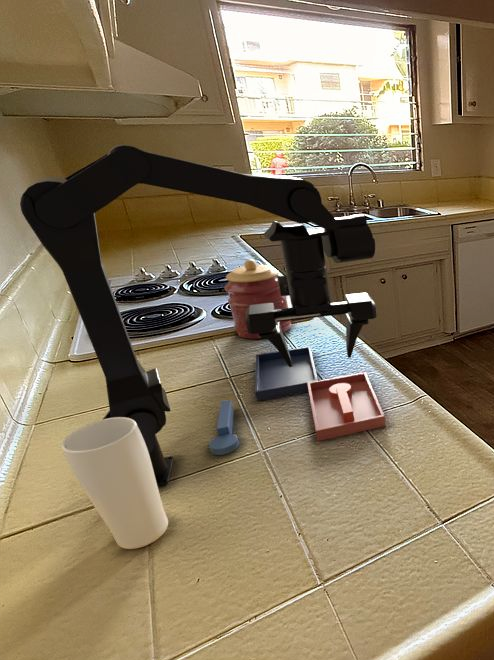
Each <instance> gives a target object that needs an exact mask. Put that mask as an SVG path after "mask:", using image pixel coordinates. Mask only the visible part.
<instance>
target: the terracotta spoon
mask: <svg viewBox="0 0 494 660" xmlns="http://www.w3.org/2000/svg"><path fill="white" fill-rule="evenodd" d="M351 393H352V390H351V386H350V385H349V384H347V383H338V384H335V385H332V386H331V387H330V388H329V395H330V397H331V398H333V399H338V402H339V406H340V409H341V413H342V416H343V420H344V423H348V422H352V421H354V414H353V410H352V406H351V403H350V400H349V397H348V396H350V395H351Z"/></svg>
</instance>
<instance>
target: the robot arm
mask: <svg viewBox="0 0 494 660" xmlns="http://www.w3.org/2000/svg"><path fill="white" fill-rule="evenodd" d="M139 184H141V185H148V186H152V187H157V188H158V187H159V188H163V189H168V190H173V191H179V192H184V193H189V194H193V195H199V196H204V197H209V198H214V199H220V200H225V201H230V202H234V203H240V204H244V205H248V206H251V207H253V208H257V209H259V210H261V211H264V212H267V213H270V214H272V215H274V216H277V217H280V218H282V219H283V218H284V219H286V220H289V221H290V222H291V221H292V222H294V223H297V224H292V225H282V224H281V223H280V222H278V221H276V220H273V221H272V222H271V225H270V226H269V227H268V229H267V230H266V231H264V232H263V237H264V238H265V239H267V240H268V241H270V242H272V243H274V242H280V246H281V253H282V257H283V264H284V269H285V270H284V271H285V275H277V277H278V283H279V289H280V295H281V296H286V297H288V296H289V299H290V304H291V307H288V308H284V309H274V304H273V303H265V304H256V305H249V306H248V308H247V309H246V316H245V320H246V326H247V330H248V334H259V338H260V339H267V340H268V341H269V343H271V345H273V347H274V348H275V349H276V351H279V353H280V354H281V355H282V357H283V358H284V360H285V361H286V363H287V364H288V366H289V367H292V363H291V357H290V354H289V351H288V350H289V348H288V345H287V342H286V339H285V336H284V333H282V329H281V326H280V322H282V321H290V320H291V321H297V320H305V319H315V318H322V317H331V316H339V315H345V331H346V332H345V342H346V343H345V348H346V355H347V358H348V359H351V358H352V356H353V352H354V348H355V346H356V343H357V339H358V337H359V335H360V333H361V331H362V328H363V326H366V325H368V324H369V323H370V322H369V320H374V319H376V318H377V317H378V316H377V307H376V303H375V301H374V300H373V298H372V297H371V295H370V294H369V293H367V292H360V293H359V292H358V293H350V294H345V296H344V298H345V299H344V300H345V301H338V302H331V301H332V300H331V295H330V288H329V280H328V273H327V265H326V259H325V256H326V257H327V258H328V259H330V258H331V259H332V260H333V262H334V263H336V264H341V263H342V264H343V263H349V262H355V261H356V262H357V261H363V260H370V259H373V258H374V256H375V254H376V239H375V238H374V235H373V233H372V229H371V227H370V226H369V224H368V221H367V220H368V219H367V216H366V215H364V214H362V213H361V214H360V213H359V214H352V215H349V216H341V217H340V216H339V217H334V215H333V214H332V213H331V212H330V211H329V210H328V209H327V208H326V207H325V206H324V204H323V203H322V202H323V201H322V200H323V199H322V196H321V193H320V191H319V190H318V188H317V187H316V185H315V184H313V183H312V182H310V181H307V180H306V179H303V178H297V177H294V176H289V175H288V176H287V175H274V174H252V173H242V172H241V173H240V172H237V171H231V170H227V169H225V168H224V169H223V168H220V167H214V166H210V165H207V164H203V163H197V162H193V161H189V160H185V159H180V158H176V157H172V156H167V155H163V154H158V153H155V152H150V151H147V150H146V151H145V150H142V149H140V148H138V147H136V146H133V145H131V144H118V145H114V146H112V148H111V149H109V151H108V152H107V153H105V154H104V155H103V156H101V157H99V158H97V159H96V160H94V161H92V162H90V163H89V164H87V165H85V166H83V167H81V168H80V169H77V170H76V171H74V172H73V173H72V174H70V175H67V176H66V177H65V178H63V177H54V176H50V177H44V178H40V179H38V180H36V181H35V182H33V183H32V184H30V186H28V187H27V189H26V190H25V191H24V192H23V194H21V197H20V202H19V205H20V210H21V211H20V212H21V213H22V215H23V217H24V219H25V220H26V222H27V224H28V226H29V227H30V228H31V229H32V231H33V233H34V234H35V236H36V238H37V239H38V240H39V242H40V244H41V245H42V246H43V248H44V249H45V250H46V251H47V252H48V254H49V255H50V256H51V258H52V259H53V260H54V262H55V263H56V264H57V265H58V267H59V268H60V270H61V271H62V274H63V276H64V279H65V282H66V284H67V286H68V289H69V292H70V294H71V296H72V299H73V301H74V304H75V306H76V308H77V310H78V311H77V312H78V314H79V316H80V318H81V321H82V323H83V326H84V328H85V331H86V333H87V335H88V338H89V340H90V343H91V345H92V348H93V351H94V353H95V355H96V358H97V361H98V362H99V365H100V368H101V369H102V373H103V375H104V378H105V384H106V393H107V400H108V407H109V410H108V412H107V413H106V414H105V415H104V417H103V418H102V419H101V420H103V419H107V418H115V417H126V418H130V419H133V420H134V421H135V422H136V423H137V426H138V428H139V430H140V432H141V434H142V436H143V438H144V441H145V443H146V446H147V449H148V452H149V455H150V459H151V463H152V467H153V470H154V474H155V478H156V482H157V486H158V488H162V487H165V486H167V485H169V482H170V478H171V474H172V470H173V467H174V462H175V457H174V456H171V455H170V456H166V457H165V456H164V453H163V451H162V448H161V446H160V443H159V440H158V437H157V434H158V433H159V432H161V430H162V429H163V428H164V426H166V423H167V416H166V415H167V414H166V412H168V413H170V412H171V405H170V402H169V399H168V396H167V392H166V389H164V388H163V386H162V382H161V379H160V374H159V371H158V368H157V367H154V368H152V369H149V370H145V368H144V367H143V365H142V364H141V363H140V362H139V360H138V357H137V355H136V353H135V350H134V347H133V344H132V341H131V338H130V336H129V333H128V330H127V328H126V325H125V323H124V319H123V316H122V313H121V310H120V309H119V306H118V302H117V300H116V297H115V294H114V292H113V289H112V287H111V283H110V281H109V278H108V276H107V272H106V270H105V267H104V264H103V262H102V256H101V250H100V240H99V233H98V227H97V220H96V213H97V212H98V211H100V210H102V209H103V208H105V207H106V206H109V204H110V203H112V202H114V201H115V200H116V199H118V198H119V197H120V196H122V195H123V194H125V193H126V192H127V191H129V190H130V189H132V188H134V187H135V186H137V185H139ZM308 223H310V224H312V225H314V226H317V227H319V228H315V229H307V227H306V225H304V224H308Z"/></svg>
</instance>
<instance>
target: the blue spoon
mask: <svg viewBox="0 0 494 660" xmlns="http://www.w3.org/2000/svg"><path fill="white" fill-rule="evenodd" d="M234 418H235V409H234V404H233V401H232V399H227V400H221V401H220V406H219V411H218V418H217V424H216V431H217V434H218V435H217V436H216V437H213V439H211V440H210V441H209V443H208V447H209V450H210V453H211V454H212V455H215V456H223V455H228V454H230V453H232V452H234V451H235V450H237V449H238V448H239V447H240V441H239V438H238V436H237V435H236V434H234V433H233V428H234Z"/></svg>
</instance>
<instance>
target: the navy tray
mask: <svg viewBox="0 0 494 660" xmlns="http://www.w3.org/2000/svg"><path fill="white" fill-rule="evenodd" d="M288 351H289V354H290V357H291V363H292V367H289V366H288V364H287V363H286V361H285V360H284V358H283V357H282V355H281V354H280V353H279V351H278V350H276V351H271V352H264V353H258V354H255V372H254V373H255V374H254V375H255V376H254V394H255V398H256V401H257V402H261V401H266V400H271V399H277V398H283V397H288V396H293V395H299V394H304V393H309V391H308V385H307V383H308V382H314V381H319V379H318V374H317V370H316V369H317V368H316V365H315V361H314V356H313V352H312V346H302V347H297V348H290V349H289V348H288Z"/></svg>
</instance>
